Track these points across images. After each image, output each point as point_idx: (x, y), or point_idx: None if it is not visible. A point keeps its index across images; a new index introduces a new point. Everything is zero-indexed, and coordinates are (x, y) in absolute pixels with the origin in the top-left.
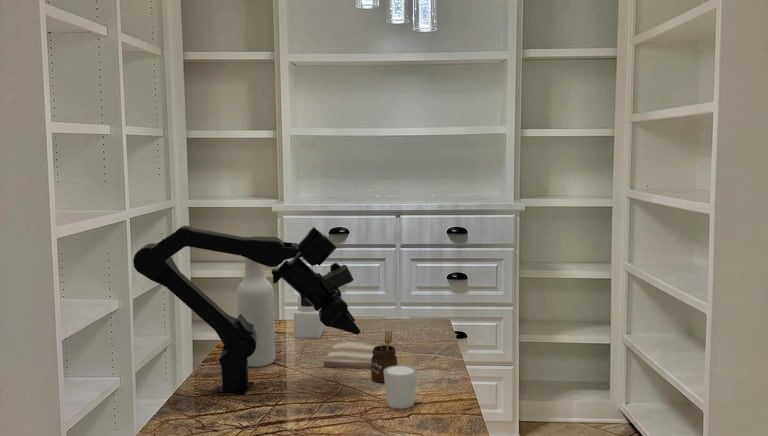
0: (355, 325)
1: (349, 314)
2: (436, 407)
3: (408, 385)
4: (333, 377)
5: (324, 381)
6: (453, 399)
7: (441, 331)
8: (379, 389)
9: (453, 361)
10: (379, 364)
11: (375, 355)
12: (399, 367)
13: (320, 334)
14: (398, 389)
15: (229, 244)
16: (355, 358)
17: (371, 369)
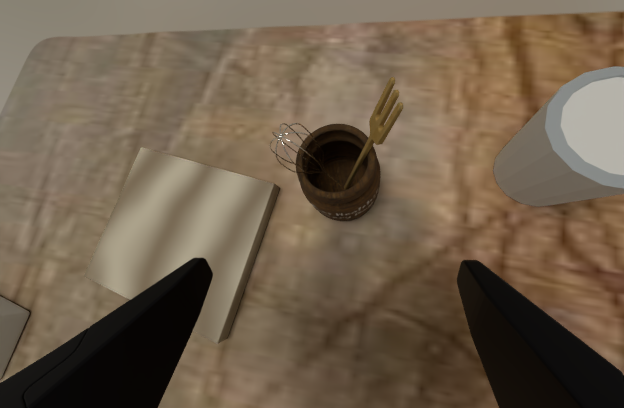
0: (545, 316)
1: (168, 298)
2: None
3: None
4: (309, 323)
5: (335, 356)
6: (513, 49)
7: (97, 46)
8: (422, 212)
9: (268, 35)
10: (375, 192)
11: (357, 197)
12: (576, 124)
13: (15, 309)
14: None
15: None
16: (222, 247)
17: (343, 218)
